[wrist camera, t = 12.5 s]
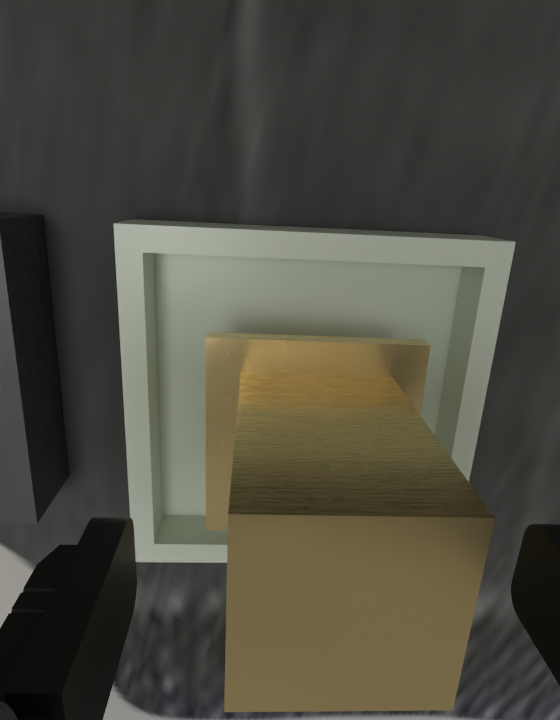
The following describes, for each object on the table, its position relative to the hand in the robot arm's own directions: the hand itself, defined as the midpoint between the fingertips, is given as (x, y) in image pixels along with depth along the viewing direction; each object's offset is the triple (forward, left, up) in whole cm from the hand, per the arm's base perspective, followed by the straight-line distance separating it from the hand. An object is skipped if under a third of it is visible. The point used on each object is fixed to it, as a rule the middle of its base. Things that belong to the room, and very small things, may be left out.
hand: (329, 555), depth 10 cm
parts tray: (0, 0, -9) cm, 9 cm away
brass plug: (0, 0, -9) cm, 9 cm away
